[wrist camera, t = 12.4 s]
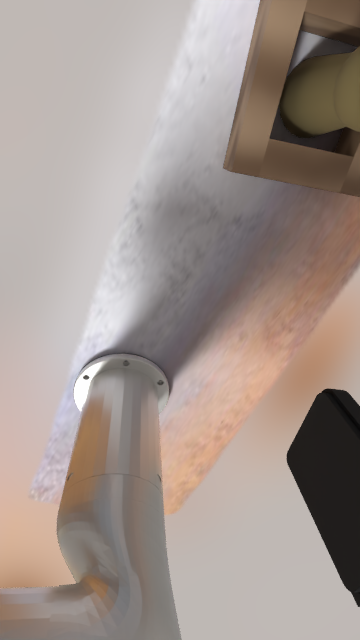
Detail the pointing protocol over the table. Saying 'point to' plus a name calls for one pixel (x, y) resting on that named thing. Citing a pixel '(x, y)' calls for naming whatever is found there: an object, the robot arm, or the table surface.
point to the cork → (322, 95)
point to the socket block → (265, 92)
